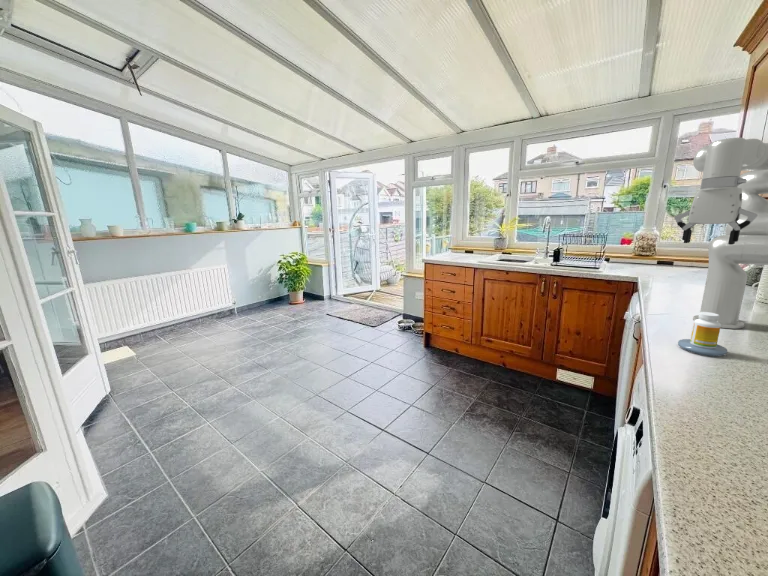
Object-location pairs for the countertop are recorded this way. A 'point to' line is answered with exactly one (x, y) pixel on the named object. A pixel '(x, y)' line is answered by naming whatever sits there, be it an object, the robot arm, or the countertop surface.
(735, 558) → the countertop surface
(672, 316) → the countertop surface
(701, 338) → the supplement bottle
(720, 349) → the pale blue round plate
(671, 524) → the countertop surface
